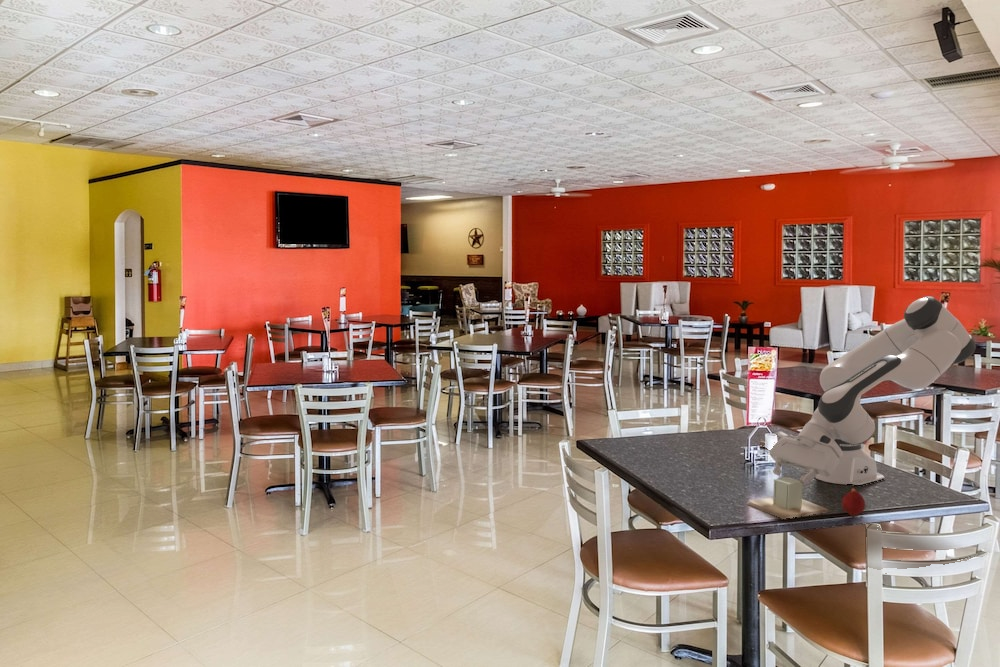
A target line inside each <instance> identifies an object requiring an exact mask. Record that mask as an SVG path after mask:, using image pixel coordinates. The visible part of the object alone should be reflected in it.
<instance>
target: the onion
mask: <svg viewBox="0 0 1000 667" xmlns="http://www.w3.org/2000/svg"><path fill="white" fill-rule="evenodd" d="M841 507H842V509H843V510H844V511H845V512H846V513H847V514H848V515H849V516H850V517H851V516H852V517H851V518H854V517H856V516H858V515H860V514H862V513H863V512H864V510H865V508H866V501H865V499H864V497H863V495H861V494H860V493H859V492H858V491H857V490H856V489H855V488H850V491H848V492H847V493H846V494H844V496H843V497H842V500H841Z"/></svg>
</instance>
